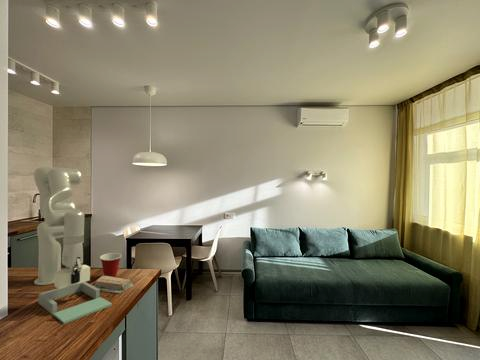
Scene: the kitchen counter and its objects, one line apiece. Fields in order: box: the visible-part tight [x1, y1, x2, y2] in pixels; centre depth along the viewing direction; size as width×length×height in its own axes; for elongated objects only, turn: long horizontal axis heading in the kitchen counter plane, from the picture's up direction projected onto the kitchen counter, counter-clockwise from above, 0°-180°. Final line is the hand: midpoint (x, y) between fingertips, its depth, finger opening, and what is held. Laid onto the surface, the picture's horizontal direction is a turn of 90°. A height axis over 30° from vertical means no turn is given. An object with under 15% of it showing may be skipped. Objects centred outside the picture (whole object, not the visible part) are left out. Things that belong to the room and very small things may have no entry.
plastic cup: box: [99, 252, 123, 277], centre depth 140 cm, size 11×11×12 cm
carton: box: [53, 264, 91, 289], centre depth 111 cm, size 5×12×6 cm, turn 145°
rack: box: [37, 281, 100, 315], centre depth 112 cm, size 16×18×4 cm
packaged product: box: [92, 275, 134, 295], centre depth 127 cm, size 18×5×10 cm
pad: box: [53, 296, 113, 325], centre depth 104 cm, size 10×18×1 cm, turn 145°
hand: (72, 280), depth 111 cm, fingers closed on carton, 5 cm apart
